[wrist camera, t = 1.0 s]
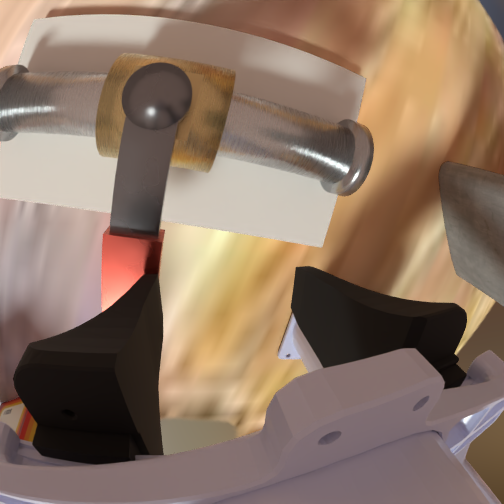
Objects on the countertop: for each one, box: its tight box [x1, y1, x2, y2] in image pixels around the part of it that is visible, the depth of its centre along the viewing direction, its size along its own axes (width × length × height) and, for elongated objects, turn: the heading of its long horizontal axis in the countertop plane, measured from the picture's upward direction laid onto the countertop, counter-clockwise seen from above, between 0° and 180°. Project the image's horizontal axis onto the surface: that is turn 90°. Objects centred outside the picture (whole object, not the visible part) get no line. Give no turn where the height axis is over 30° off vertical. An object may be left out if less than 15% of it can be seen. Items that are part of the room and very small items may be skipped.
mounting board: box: [0, 14, 366, 248], centre depth 17 cm, size 26×14×2 cm, turn 76°
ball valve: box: [0, 53, 374, 196], centre depth 14 cm, size 24×6×7 cm, turn 76°
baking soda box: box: [0, 397, 37, 442], centre depth 18 cm, size 10×6×16 cm
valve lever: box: [102, 62, 192, 312], centre depth 11 cm, size 12×3×2 cm, turn 167°
